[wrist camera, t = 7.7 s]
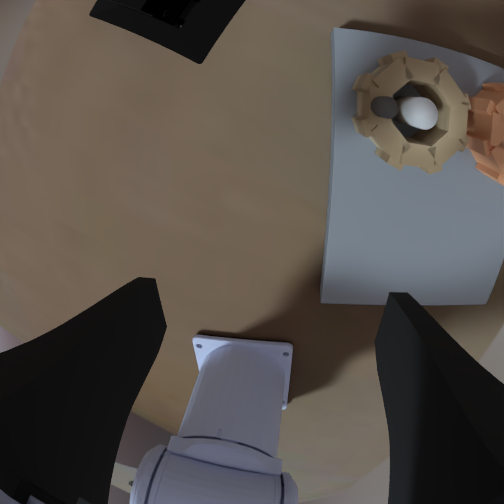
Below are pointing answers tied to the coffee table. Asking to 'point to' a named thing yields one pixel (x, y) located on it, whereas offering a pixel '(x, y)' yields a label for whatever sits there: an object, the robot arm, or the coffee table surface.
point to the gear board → (406, 193)
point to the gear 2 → (487, 130)
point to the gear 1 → (385, 108)
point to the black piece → (172, 22)
